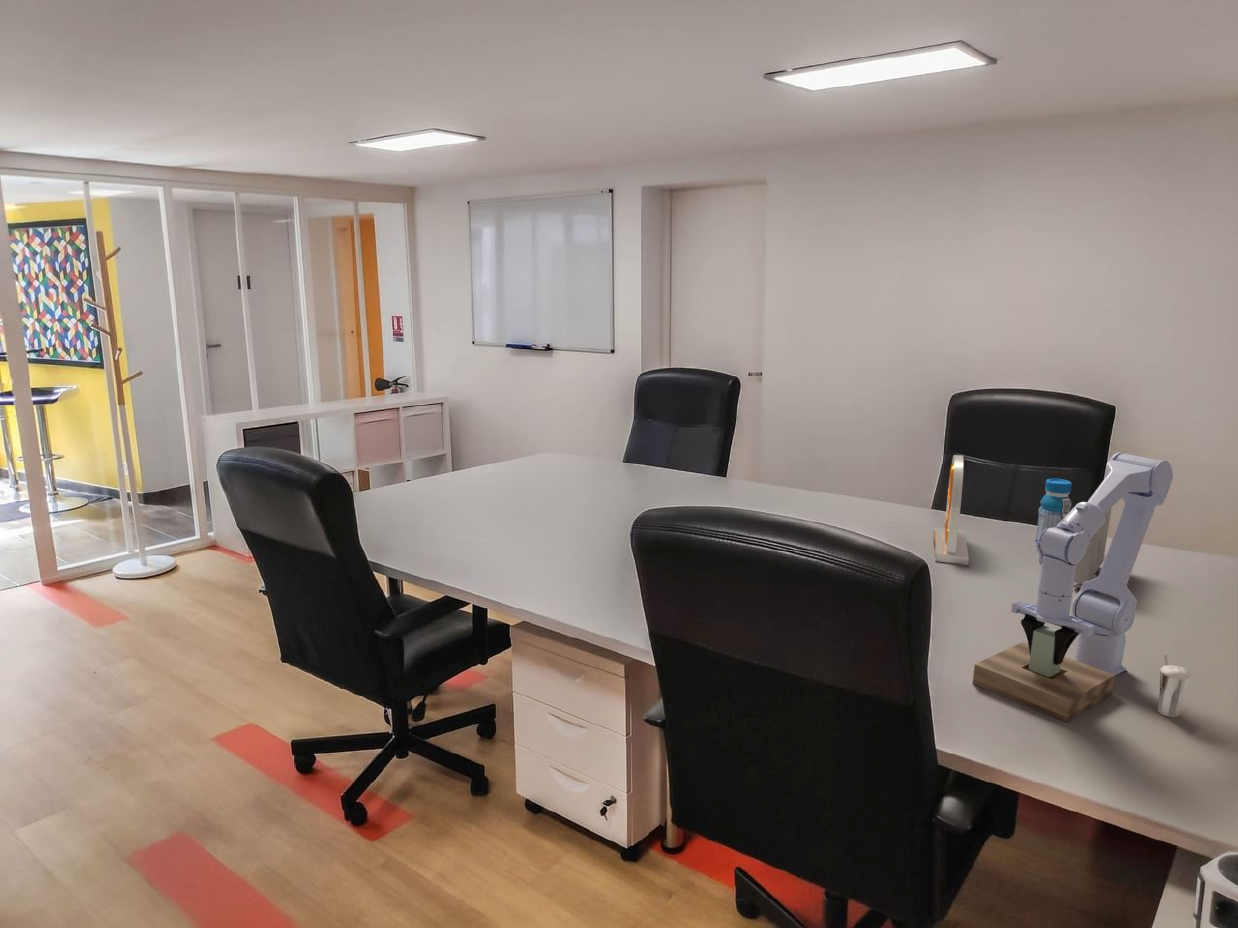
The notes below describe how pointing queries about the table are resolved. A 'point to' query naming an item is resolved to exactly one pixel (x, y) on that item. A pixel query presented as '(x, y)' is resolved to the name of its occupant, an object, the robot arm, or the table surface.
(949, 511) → the award
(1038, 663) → the peg
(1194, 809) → the table surface
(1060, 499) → the beverage bottle
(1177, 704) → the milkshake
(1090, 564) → the network device
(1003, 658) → the socket block
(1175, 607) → the table surface
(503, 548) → the table surface
